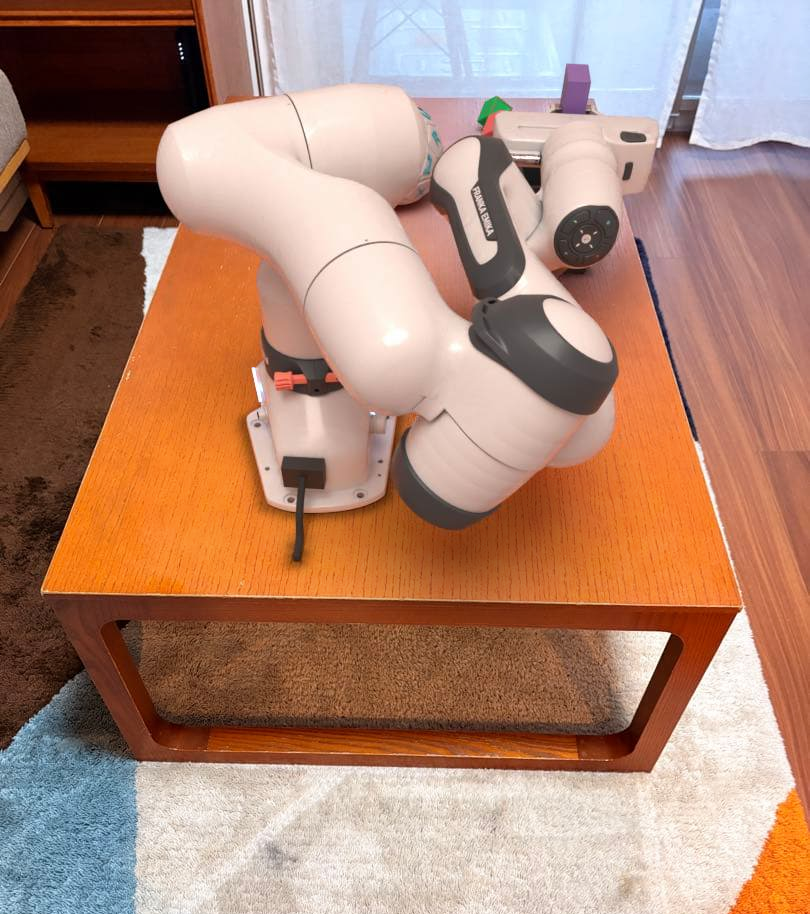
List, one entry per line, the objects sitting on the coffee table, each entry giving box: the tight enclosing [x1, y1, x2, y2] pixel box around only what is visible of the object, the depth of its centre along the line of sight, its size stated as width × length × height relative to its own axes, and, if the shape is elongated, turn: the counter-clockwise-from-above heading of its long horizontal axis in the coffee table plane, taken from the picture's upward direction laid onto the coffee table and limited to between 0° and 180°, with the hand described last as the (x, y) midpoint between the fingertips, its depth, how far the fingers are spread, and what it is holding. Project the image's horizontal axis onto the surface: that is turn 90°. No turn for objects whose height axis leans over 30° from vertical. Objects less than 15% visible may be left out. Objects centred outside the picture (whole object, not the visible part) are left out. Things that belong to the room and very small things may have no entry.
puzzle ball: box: [396, 106, 444, 206], centre depth 130 cm, size 15×15×15 cm
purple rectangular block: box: [559, 63, 592, 114], centre depth 106 cm, size 5×3×11 cm, turn 176°
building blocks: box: [477, 95, 514, 137], centre depth 145 cm, size 8×8×12 cm
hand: (571, 109), depth 106 cm, fingers closed on purple rectangular block, 3 cm apart
